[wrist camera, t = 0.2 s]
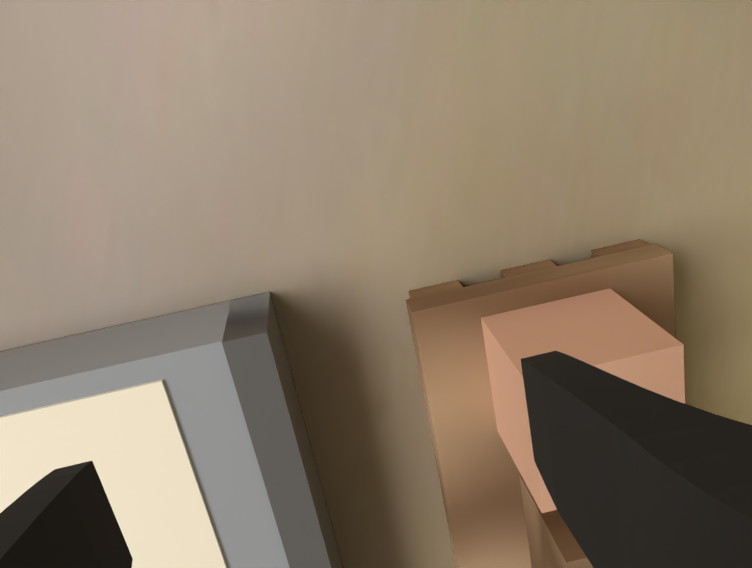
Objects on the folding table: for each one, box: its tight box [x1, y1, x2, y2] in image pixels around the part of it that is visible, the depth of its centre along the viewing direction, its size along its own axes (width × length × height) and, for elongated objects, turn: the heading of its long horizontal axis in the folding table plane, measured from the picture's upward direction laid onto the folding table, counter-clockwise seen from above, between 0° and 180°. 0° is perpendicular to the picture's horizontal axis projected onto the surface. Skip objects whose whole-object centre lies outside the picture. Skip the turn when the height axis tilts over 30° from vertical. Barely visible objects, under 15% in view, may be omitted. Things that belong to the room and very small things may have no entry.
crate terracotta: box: [481, 289, 685, 513], centre depth 19 cm, size 4×4×4 cm
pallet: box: [406, 239, 676, 568], centre depth 22 cm, size 17×8×6 cm, turn 11°
